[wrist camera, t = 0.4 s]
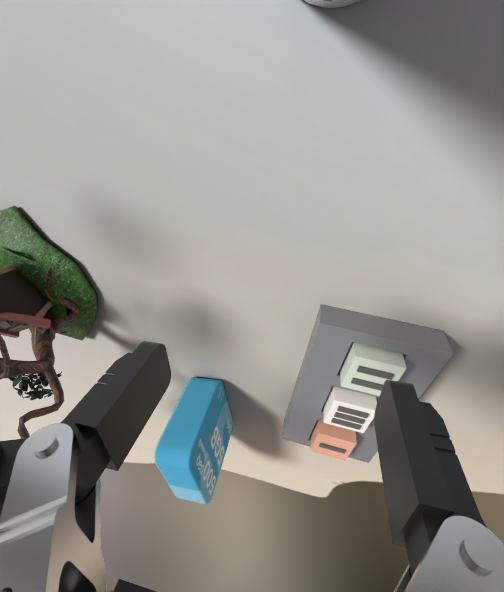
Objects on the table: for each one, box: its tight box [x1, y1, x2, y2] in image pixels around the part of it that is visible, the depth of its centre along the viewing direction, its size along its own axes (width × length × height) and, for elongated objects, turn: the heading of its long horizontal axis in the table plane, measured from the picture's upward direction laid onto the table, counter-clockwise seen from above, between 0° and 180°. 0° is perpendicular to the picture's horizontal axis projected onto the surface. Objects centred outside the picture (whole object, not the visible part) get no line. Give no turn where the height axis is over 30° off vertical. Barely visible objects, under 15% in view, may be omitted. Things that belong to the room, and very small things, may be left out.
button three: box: [323, 386, 377, 433], centre depth 32 cm, size 5×5×3 cm
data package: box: [154, 377, 233, 504], centre depth 39 cm, size 12×4×12 cm, turn 7°
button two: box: [340, 342, 406, 396], centre depth 28 cm, size 5×5×3 cm
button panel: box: [282, 305, 454, 463], centre depth 34 cm, size 22×12×3 cm, turn 174°
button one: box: [310, 420, 357, 461], centre depth 37 cm, size 5×5×3 cm
